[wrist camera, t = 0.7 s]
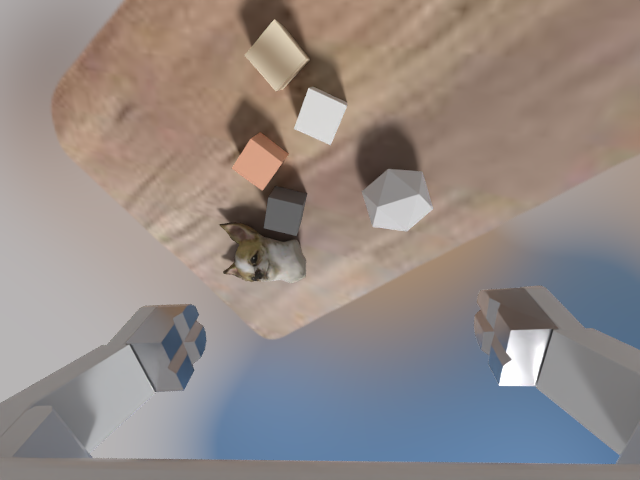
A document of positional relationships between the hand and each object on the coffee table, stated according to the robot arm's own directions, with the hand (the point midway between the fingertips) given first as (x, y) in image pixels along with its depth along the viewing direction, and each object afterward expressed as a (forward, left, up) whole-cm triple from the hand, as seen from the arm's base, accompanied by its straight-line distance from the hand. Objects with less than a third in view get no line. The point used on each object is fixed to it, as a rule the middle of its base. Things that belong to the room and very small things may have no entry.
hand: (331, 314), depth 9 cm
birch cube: (-1, -11, -39) cm, 40 cm away
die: (+3, +12, -39) cm, 41 cm away
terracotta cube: (+11, -6, -39) cm, 41 cm away
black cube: (+15, +1, -39) cm, 41 cm away
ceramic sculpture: (+24, +3, -39) cm, 46 cm away
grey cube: (+1, -3, -39) cm, 39 cm away
